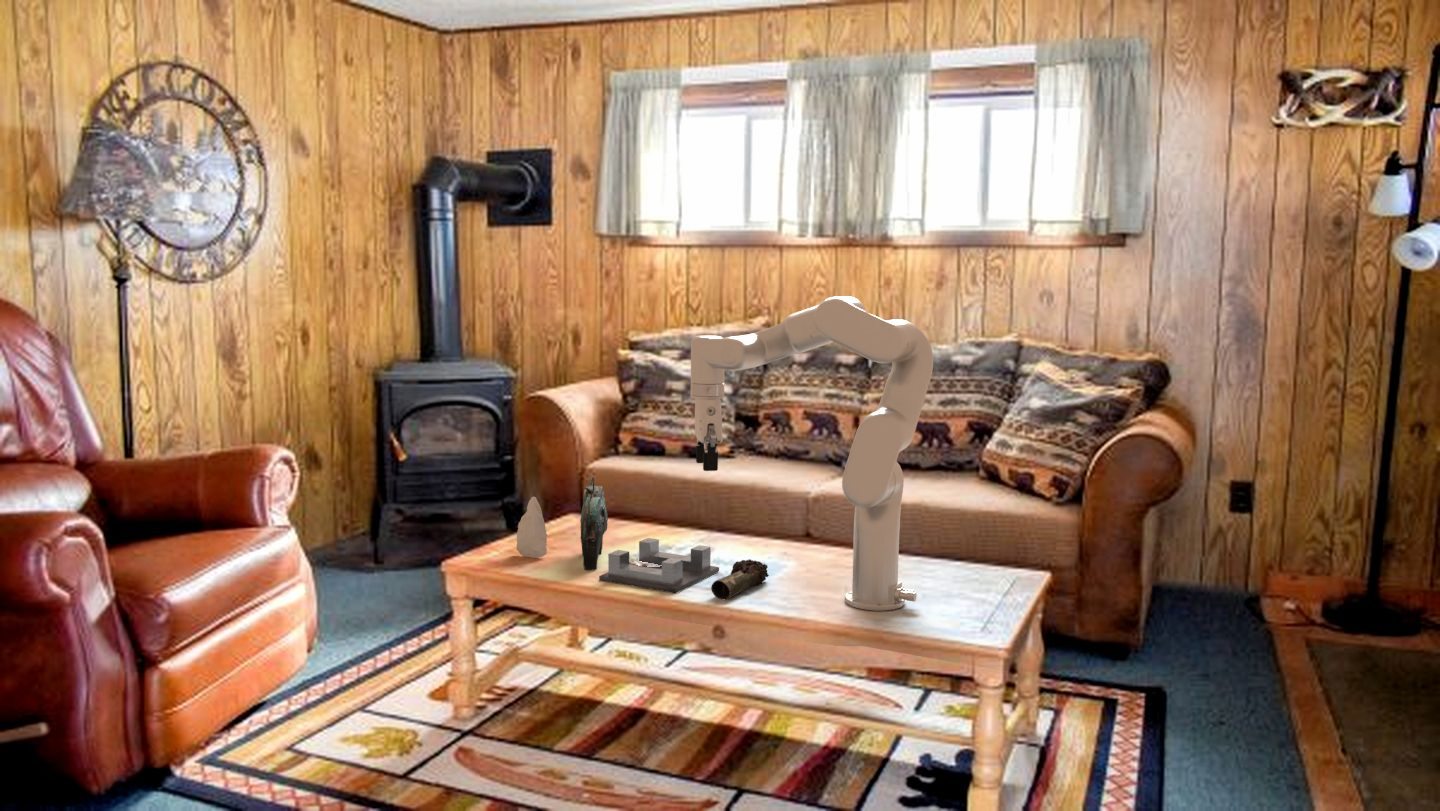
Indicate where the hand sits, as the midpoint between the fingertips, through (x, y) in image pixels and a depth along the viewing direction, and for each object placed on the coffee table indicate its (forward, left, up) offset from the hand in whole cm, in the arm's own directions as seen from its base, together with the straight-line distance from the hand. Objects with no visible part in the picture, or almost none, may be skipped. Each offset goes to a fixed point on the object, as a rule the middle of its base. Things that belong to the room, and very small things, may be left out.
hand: (706, 466), depth 244 cm
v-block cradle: (+10, +3, -26) cm, 28 cm away
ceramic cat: (+31, -1, -26) cm, 41 cm away
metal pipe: (-10, +3, -26) cm, 28 cm away
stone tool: (+46, +4, -26) cm, 53 cm away
